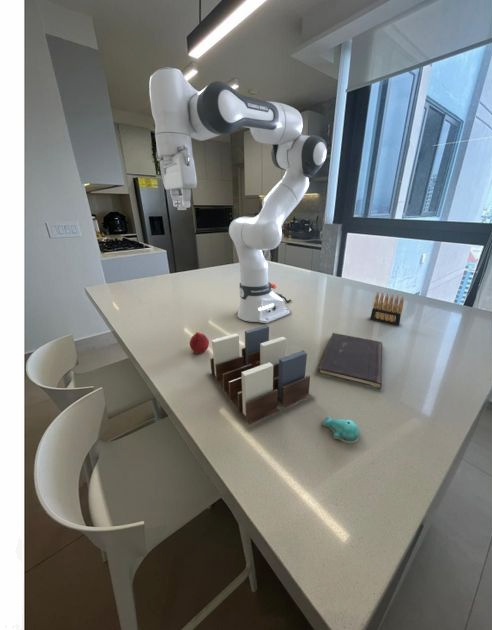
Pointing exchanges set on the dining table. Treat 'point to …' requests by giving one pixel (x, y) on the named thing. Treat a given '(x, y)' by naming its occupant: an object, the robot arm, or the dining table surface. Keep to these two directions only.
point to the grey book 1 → (255, 339)
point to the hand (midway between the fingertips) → (181, 207)
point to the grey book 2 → (291, 369)
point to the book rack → (262, 405)
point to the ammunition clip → (387, 310)
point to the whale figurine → (343, 429)
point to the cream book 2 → (256, 382)
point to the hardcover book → (353, 359)
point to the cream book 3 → (272, 351)
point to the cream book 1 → (225, 349)
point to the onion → (199, 342)
